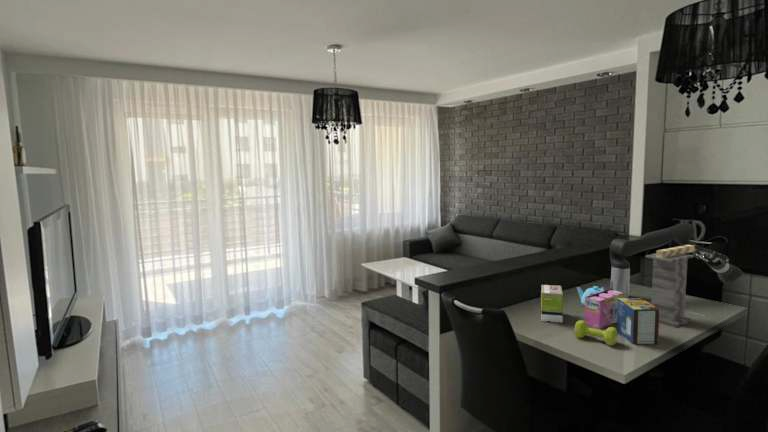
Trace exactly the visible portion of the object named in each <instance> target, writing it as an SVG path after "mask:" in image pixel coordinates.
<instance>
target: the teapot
mask: <svg viewBox="0 0 768 432" xmlns="http://www.w3.org/2000/svg"><path fill="white" fill-rule="evenodd" d="M576 290H577V293H578V297H579V299H580V303H581V304H582V305H583V307H585V297H587V296H590V295H593V294H596V293H599V292H602V291H605V287H603V286H602V287H600V288H599V286H596V285H594V286H592V287H589V288H587V289H586V290H585V291H583V289H582V288H581V287H579V286H577V287H576Z"/></svg>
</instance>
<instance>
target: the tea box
mask: <svg viewBox="0 0 768 432" xmlns="http://www.w3.org/2000/svg"><path fill="white" fill-rule="evenodd" d="M540 289H541V291H540V310H541V311H540V313H541V314H540V319H541V322H547V321H550V323H559V322H560V323H563V322H564V294H563V289H562V285H556V284H555V285H553V284H552V285H551V284H550V285H549V284H541V288H540Z"/></svg>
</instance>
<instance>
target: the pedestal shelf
mask: <svg viewBox="0 0 768 432" xmlns="http://www.w3.org/2000/svg"><path fill="white" fill-rule="evenodd" d="M644 257H645V258H647V259H652V281H651V300H650V301H651V302H650V304H652V305H653V306H655V307H657V308H658V309H660V310H659V324H662V325H666V326H668V327H671V328H676V327H680V326H682V325H685V324H688V323H692V318H690V317H687V316H685V308H686V294H687V275H688V259H693V258H694V257H695V256H694V255H693V254H689V253H685V254H680V255H675V256H670V257H665V258H660V257H656V253H655V252H654V253H651V254H646V255H645V256H644Z"/></svg>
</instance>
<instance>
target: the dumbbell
mask: <svg viewBox="0 0 768 432" xmlns="http://www.w3.org/2000/svg"><path fill="white" fill-rule="evenodd" d="M573 330H574V335H575V337H576V338H578V339H583V338H585V337H586V335H589V336H593V337H597V338H601V339H604V342H605V344H606V345H608V346H610V347H613V346H615V345H616V344H617V342H618V336H619V335H618V333H619V332H618V331H617V327H613V326H610V327H607V328H606V329H605V330H601V329H598V328H595V327H590V326H588V325H587V324H586V322H585V321H584V320H583V319H579V320H577V321H576V322H575V325H574V329H573Z"/></svg>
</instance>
